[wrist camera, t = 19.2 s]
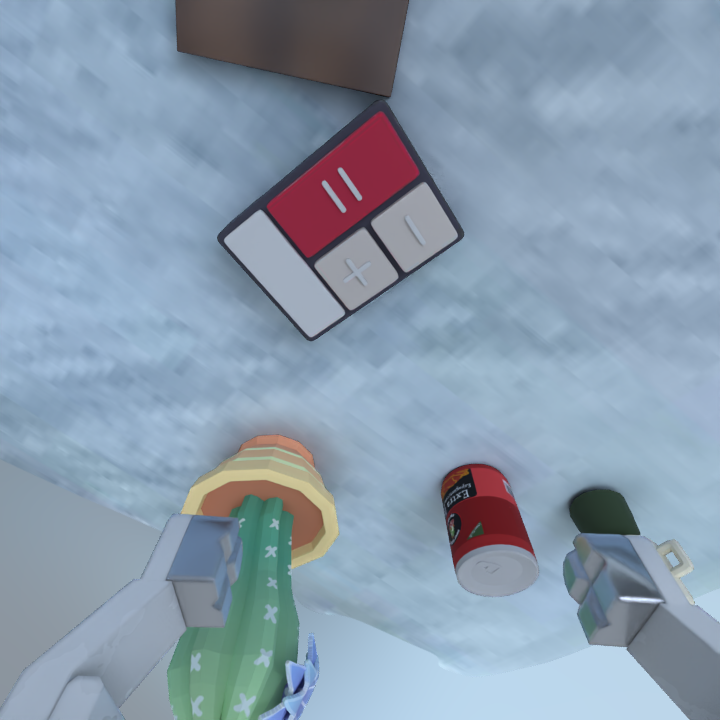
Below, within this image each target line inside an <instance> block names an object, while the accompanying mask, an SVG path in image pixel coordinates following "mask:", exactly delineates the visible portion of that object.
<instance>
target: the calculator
mask: <svg viewBox="0 0 720 720" xmlns="http://www.w3.org/2000/svg"><path fill="white" fill-rule="evenodd" d="M463 237H464V231H463V229H462V228H461V226H460V224H459V223H458V221H457V219H456V217H455V216H454V214H453V212H452V211H451V209H450V207H449V206H448V204H447V202H446V201H445V199H444V197H443V196H442V194H441V192H440V191H439V189H438V187H437V186H436V184H435V182H434V181H433V179H432V177H431V176H430V174H429V172H428V171H427V169H426V167H425V166H424V164H423V162H422V160H421V159H420V157H419V155H418V154H417V152H416V150H415V149H414V147H413V145H412V144H411V142H410V140H409V139H408V137H407V135H406V134H405V132H404V130H403V129H402V127H401V125H400V124H399V122H398V120H397V119H396V117H395V115H394V114H393V112H392V110H391V108H390V107H389V105H388V104H387V102H386V101H384V100H377V101H375V102H374V103H373V104H371V105H370V106H369V107H368V108H367V109H365V110H364V111H363V112H362V113H361V114H359V115H358V116H357V117H356V118H355V119H353V120H352V121H351V122H350V123H349V124H347V125H346V126H345V127H344V128H343V129H341V130H340V131H339V132H338V133H337V134H336V135H334V136H333V137H332V138H331V139H330V140H328V141H327V142H326V143H325V144H324V145H322V146H321V147H320V148H319V149H318V150H316V151H315V152H314V153H313V154H312V155H310V156H309V157H308V158H307V159H306V160H304V161H303V162H302V163H301V164H300V165H299V166H297V167H296V168H295V169H294V170H293V171H291V172H290V173H289V174H288V175H287V176H285V177H284V178H283V179H282V180H281V181H279V182H278V183H277V184H276V185H275V186H273V187H272V188H271V189H270V190H269V191H267V192H266V193H265V194H264V195H262V196H261V197H260V198H259V199H258V200H256V201H255V202H254V203H253V204H252V205H250V206H249V207H248V208H247V209H246V210H244V211H243V212H242V213H241V214H240V215H238V216H237V217H236V218H235V219H234V220H232V221H231V222H230V223H229V224H228V225H227V226H226V227H225V228H224V229H223V230H222V231H221V232H220V233H219V235H218V237H217V239H218V242H219V243H220V244H221V245H222V246H223V247H224V249H225V250H226V251H227V252H228V253H229V254H230V255H231V256H232V257H233V259H234V260H235V261H236V262H237V263H238V264H239V265H240V266H241V267H242V268H243V270H244V271H245V272H246V273H247V274H248V275H249V276H250V277H251V278H252V280H253V281H254V282H255V283H256V284H257V285H258V286H259V287H260V288H261V289H262V291H263V292H264V293H265V294H266V295H267V296H268V297H269V298H270V299H271V301H272V302H273V303H274V304H275V305H276V306H277V307H278V308H279V309H280V310H281V312H282V313H283V314H284V315H285V316H286V317H287V318H288V319H289V320H290V322H291V323H292V324H293V325H294V326H295V327H296V328H297V329H298V330H299V332H300V333H301V334H302V335H303V336H304V337H305V338H306V339H307V340H308V341H314V340H315V339H317V338H318V337H320V336H321V335H323V334H324V333H326V332H327V331H329V330H330V329H332V328H333V327H334V326H336V325H337V324H339V323H340V322H342V321H343V320H345V319H346V318H348V317H349V316H351V315H352V314H353V313H355V312H356V311H358V310H359V309H361V308H362V307H364V306H365V305H367V304H368V303H370V302H371V301H372V300H374V299H375V298H377V297H378V296H380V295H381V294H383V293H384V292H386V291H387V290H389V289H390V288H391V287H393V286H394V285H396V284H397V283H399V282H400V281H402V280H403V279H405V278H406V277H408V276H409V275H410V274H412V273H413V272H415V271H416V270H418V269H419V268H421V267H422V266H424V265H425V264H427V263H428V262H429V261H431V260H432V259H434V258H435V257H437V256H438V255H440V254H441V253H443V252H444V251H446V250H447V249H448V248H450V247H451V246H453V245H454V244H456V243H457V242H459V241H460V240H461V239H462V238H463Z"/></svg>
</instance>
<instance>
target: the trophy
mask: <svg viewBox="0 0 720 720" xmlns="http://www.w3.org/2000/svg"><path fill="white" fill-rule="evenodd" d="M570 517H571V518H572V520H573V522H574V523H575V525H576V526H577V528H578V530H579V531H580V532H581V533H589V534H620V535H630V536H641V535H640V531H639V529H638V527H637V524H636V522H635V520H634V517H633V515H632V513H631V511H630V509H629V507H628V505H627V503H626V501H625V499H624V497H623V496H622V495H621V494H620V493H617V492H614V491H611V490H593V491H589V492H585V493H583V494H581V495H580V496H579V497H577V498H576V499H574V501H573V503H572V505H571V507H570ZM649 540H650V539H649ZM650 541H651V543H652V544H653V546H654V547H655V549H656V550H657V552H658V554H659V555H660V557H661V558H662V560H663V561H664V563H665V565H666V566H667V568H668V569H669V571H670V573H671V574H672V576H673V577H674V579H675V580H676V582H677V584H678V585H679V587H680V588H681V590H682V592H683V593H684V595H685V596H686V598H687V599H688V601H689V603H690V604H691V605H695V602H694V600H693V598H692V596H691V594H690V593H689V591H688V590H687V588H686V587H685V585H684V584H683V582H682V581H681V579H680V578H681V577H683V576H685V575H686V574H688V573H690V572H692V570H693V569H694V567H693V563H692V561H691V560H690V559H689V557H688V556H687V554H686V553H685V551H684V550H683V548H682V547H681V545H680V544H679V543H678V542H677V541H676V540H675V539H673V540H668V541H666V542H664V543H662V544H660V545H659V546H658V545H657V544H656V543H654V542H653V541H652V540H650ZM670 552H673V553H674V555H675V556H676V558H677V559H678V561H679V562H680V564H679V565H677V566H675V567H673V566H672V565H671V563H670V562H669V560H668V559H667V557H666V556H665V555H667V554H668V553H670Z"/></svg>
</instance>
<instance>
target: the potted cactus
mask: <svg viewBox="0 0 720 720" xmlns="http://www.w3.org/2000/svg"><path fill="white" fill-rule="evenodd" d="M181 514H190V515H204V516H218V517H233V518H238V519H239V524H240V529H239V532H238V536H239V537H240V538H242V543H243V556H242V563H241V569H240V572H239V576H238V580H237V581H236V582H235V583H234V584H233V585H232V586H230V587H231V592H232V598H233V599H232V602H231V606H230V609H229V613H228V617H227V620H226V624H225V627H224V628H208V627H186V628H187V630H186V631H185V632H184V634H183V635H182V636H181V637H180V639H179V642H178V644H177V647H176V649H175V652H174V655H173V657H172V660H171V663H170V665H169V668H168V670H167V677H168V689H169V700H170V704H171V708H172V711H173V715H174V718H175V720H298V719H299V718H300V716H301V714H302V713H303V710H304V708H305V706H306V705H307V703H308V701H309V699H310V697H311V695H312V692H313V690H314V688H315V686H316V685H315V684H316V682H317V680H318V677H319V661H318V655H317V652H316V645H315V640H314V634H313V633H309V639H308V652H307V654H306V660H305V662H304V665H301V664H297V654H298V638H299V620H298V616H297V612H296V608H295V603H294V599H293V594H292V590H291V569H293V568H296V567H298V566H301V565H303V564H305V563H308V562H310V561H313V560H315V559H318V558H320V557H322V556H324V555H325V553H326V552H327V550H328V549H329V548H330V546H331V545H332V544H333V542H334V541H335V539H336V538H337V537H338V535H339V529H338V522H337V516H336V509H335V504H334V499H333V495H332V494H331V493H330V492H329V491H328V490H326V489H325V487H324V484H323V481H322V478H321V475H320V474H319V473H318V472H317V471H316V469H315V466H314V461H313V455H312V454H311V453H310V452H309V451H308V450H307V449H306V448H305V447H304V446H303V445H302V444H301V443H300V442H298V441H295V440H293V439H290V438H287V437H284V436H281V435H263V436H256V437H254V438H253V439H251V440H249V441H247V442H245V443H244V444H242V445H241V447H240V449H239V451H238V453H237V454H235V455H233V456H232V457H230V458H228V459H226V460H224V461H223V462H222V463H221V464H220V465H219V466H218V467H217V468H216V469H214V470H212V471H210V472H208V473H206V474H205V475H203V476H201V477H199V478H198V480H197V481H196V482H195V483H194V485H193V486H192V487H191V489H190V491H189V494H188V496H187V499H186V501H185V504H184V506H183V509H182V511H181Z"/></svg>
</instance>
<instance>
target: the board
mask: <svg viewBox="0 0 720 720" xmlns="http://www.w3.org/2000/svg"><path fill="white" fill-rule="evenodd" d="M408 4H409V0H176V30H177V51H178V52H183V53H188V54H192V55H197V56H201V57H206V58H211V59H215V60H220V61H224V62H229V63H234V64H238V65H243V66H247V67H252V68H257V69H261V70H266V71H270V72H275V73H280V74H284V75H289V76H293V77H298V78H303V79H307V80H312V81H316V82H321V83H326V84H330V85H335V86H339V87H344V88H349V89H353V90H358V91H363V92H367V93H372V94H376V95H381V96H386V97H391V93H392V88H393V82H394V77H395V72H396V67H397V61H398V56H399V51H400V46H401V40H402V35H403V30H404V25H405V19H406V14H407V9H408Z"/></svg>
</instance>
